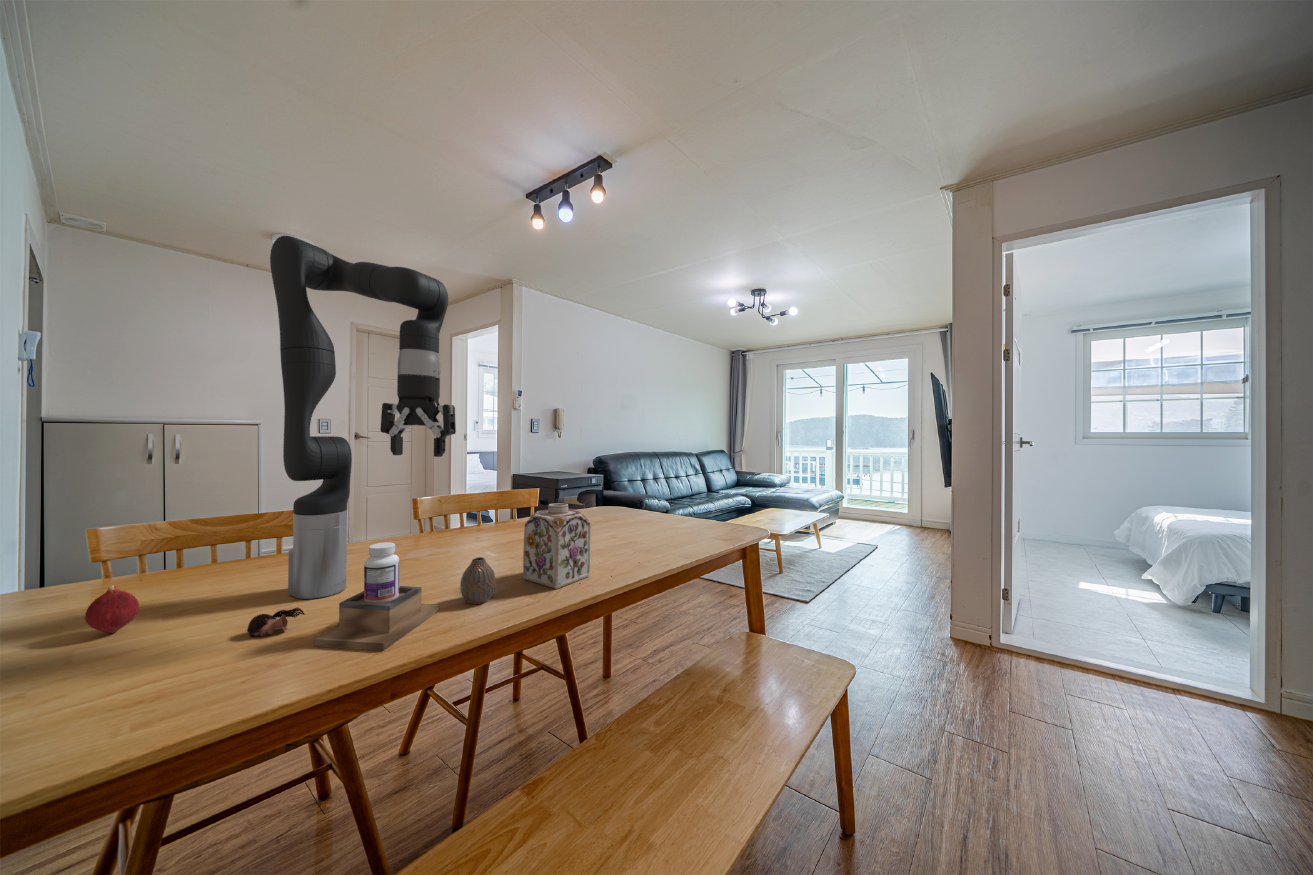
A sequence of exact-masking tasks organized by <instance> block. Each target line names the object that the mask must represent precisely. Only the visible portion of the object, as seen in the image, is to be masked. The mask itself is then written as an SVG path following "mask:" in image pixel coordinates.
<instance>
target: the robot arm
mask: <svg viewBox="0 0 1313 875" xmlns="http://www.w3.org/2000/svg"><path fill="white" fill-rule="evenodd" d="M269 264H270V274H271V278H272V284H273V288H274V296H275V299H276V307H277V313H278V325H279V327H278V328H279V344H280V345H279V350H280V352H279V354H280V366H281V367H280V368H281V377H282V388H283V399H284V400H283V401H284V403H283V404H284V414H283V415H284V416H283V418H284V420H283V421H284V423H283V424H284V425H283V449H282V450H283V455H282V457H283V458H282V460H283V466H284V467H283V468H284V471H285V473H286V475H287V477H288V478H289V479H290V480H291V481H294V482H308V481H321V480H322V482H321V484H320V486H318V487H317V488H315V490H313V491H311V492H309V493H307V494H305V495H303V496H300V497H298V498H297V499H295V500H294V502H293V508H292V509H293V510H292V512H293V514H292V517H293V519H292V521H293V522H292V523H293V525H292V529H293V530H292V532H293V533H292V534H293V536H292V538H293V539H292V541H293V542H292V547H291V548H290V549H289V550H288V552H287V553H288V554H287V555H288V556H287V558H288V563H287V570H288V572H287V574H288V575H287V578H288V580H287V595H288V596H293V598H295V599H304V600H306V599H307V600H309V599H318V598H323V597H329V596H332V595H336V594H338V593H341V592H342V591H344V590H345V589H346V588H347V569H348V567H347V564H348V562H347V558H348V556H347V555H348V554H347V553H348V550H347V549H348V548H347V547H348V502H349V498H350V493H351V491H350V490H351V478H352V477H351V476H352V464H353V463H352V461H353V460H352V459H353V457H352V456H353V454H352V449H351V445H350V444H349V441H348V440H347V439H346V438H344V437H342V436H336V435H335V436H334V435H333V436H332V435H331V436H327V435H324V436H323V435H321V436H315V435H314V436H312V435H311V430H310V429H311V424H312V423H311V422H312V418H313V414H314V412H315V409H316V408H317V406H318V405H319V403H320V401H321V400H322V399H323V398H324V396H325V395H326V394H327V392H328V391H329V390H330V388H331V386H332V385H333V383H334V382H335V379H336V375H337V367H336V353H335V347H334V342H333V341H332V339H331V337H330V336H329V333H328V332H327V331H326V329H325V327H324V326H323V323H321V321H320V319H319V318H318V317H317V315H316V313H315V312H314V310H313V307H312V306H311V302H310V300H309V296H308V291H307V289H309V290H315V291H325V292H349V293H354V294H356V295H360V296H363V297H366V298H370V299H373V300H376V301H377V300H378V301H383V302H387V303H397V304H399V305H402V306H406V307H409V308H412V309H414V310H417V315H416V318H415V319H407V320H404V321H402V322H401V324H400V327H399V341H398V342H399V344H398V346H399V348H398V349H399V351H398V358H397V387H396V388H397V389H396V396H397V397H398V402H397V404H396V403H392V402H391V403H389V402H383V403H382V405H381V417H380V419H381V420H380V429H379V430H380V432H381V433H383V434H386V435H389V436H390V444H389V445H390V452H391V453H392V455H393V456H402V455H403V453H404V437H403V434H404V433H405V432H406V430H407V429H409V428H410V427H411V426H421V427H422V426H426V428H428V429H429V430H430V431H431V433H432V434H433V435H434V437H435V438H433V457H435V458H440V457H443V456H444V454H445V453H446V440H447V437H449V436H453V435H456V432H457V429H456V424H457V423H456V407H455V405H454V404H449V403H448V404H447V403H446V404H445V403H444V404H443V405H440V401H439V399H440V397H441V362H440V333H441V330H442V327H443V324H444V320H445V317H446V314H447V310H448V308H449V307H448V306H449V294H448V291H447V288H446V286H445V285H444V283H442V282H441V280H439V279H437V278H435V277H431V276H429V275H427V274H425V273H422V272H420V271H418V270H416V269H412V268H409V267H404V266H388V265H384V264H380V263H375V262H369V261H357V262H355V263H354V262H353V263H352V262H349V261H347V260H345V259H342V258H340V257H339V256H336V255H334V254H332V253H330V252H329V251H327V250H326V249H323V247H319V246H317V245H314V244H312V243H310V242H307V241H305V240H302V239H300V238H298V237H295V236H291V235H280V236H278V238H276V239H275V241H274V242H273V243H272V246H271V249H270V255H269ZM397 413H398V414H399V416H398V417H397V419H396V414H397ZM439 414H441V416H442V421H440V420H439V418H438V415H439Z"/></svg>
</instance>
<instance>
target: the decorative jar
mask: <svg viewBox="0 0 1313 875" xmlns="http://www.w3.org/2000/svg"><path fill="white" fill-rule="evenodd" d="M547 508H548V509H542V510H538V511H535V512H534V514H532V515H531V516H530V517H529V518H528V520H527V521H526V522H525V523H524V524H523V525H524V531H523V552H522V554H523V557H522V558H523V560H522V573H523V574H522V578H523V579H524V580H526V581H529V582H533V583H537V584H539V585H542V586H546V587H548V588H551V589H555V590H558V589H560V588H563V587H566V586H568V585H570V584H573V583H577V582H579V581H582V580H584V579H586V578H588V577H589V576H590V574H591V540H592V539H591V538H592V537H591V536H592V535H591V534H592V531H591V528H592V527H591V525H592V523H591V522H590V521H589V519H588V518H587V516H586V515H584V513H583V512H582V511H580V510H575V509H569V504H568V503H564V502H559V503H558V502H556V503H550V504H548V506H547Z"/></svg>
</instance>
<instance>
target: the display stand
mask: <svg viewBox="0 0 1313 875" xmlns="http://www.w3.org/2000/svg"><path fill="white" fill-rule="evenodd" d="M338 605H339V606H338V618H339V619H338V625H336V626H334V627H332V628H331V629H328V630H326V631H325V632H323V633H322V634H320V635H318V636H316V637H315V638H313V647H324V648H335V649H336V648H339V649H349V650H351V649H352V650H366V651H367V650H369V651H380V652H382V651H386V650H387V649H389V647H391V646H392V645H393V644H395V643H396V642H398V641H399V640H400V639H403V637H405V636H406V635H408V634H409V633H410V632H411V631H413V630H414V629H416V628H417V627H419V626H420V625H421V624H423V623H424V622H425V621H427V620H429V619H430V618H431V617H433V616H434V615H435V614H437V613H438V612H439V611H440V604H434V603H422V586H408V585H407V586H406V585H399V596H398V597H397V598H396V599H394V600H392V601H390V602H386V603H374V602H365V601H364V590H363V591H360V592H359V593H356V594H355V595H353V596H351V597H348V598H346V599H345V600H342V601H341V602H339V603H338Z"/></svg>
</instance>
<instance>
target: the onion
mask: <svg viewBox="0 0 1313 875" xmlns="http://www.w3.org/2000/svg"><path fill="white" fill-rule="evenodd" d="M139 610H140V603H139V600H138V599H137V597H136V596H134V595H133V594H132V593H130V592H128V591H125V590H121V589H119V588H118V585H110V586H108V588H107V591H106V592H105V593H102V595H100V596H98V597H97V598H95V599H94V600H93V601H92V602H91V603H90V604H89V605H88V607H87V610H86V611H85V616H84V620H85V622H86V624H87V625H88V626H89V627H90V628H92V629H94V630H95V631H98V632H101V633H102V632H103V633H106V634H109V633H111V634H114V633H116V632H119V631H120V629H122V628H124V627H126V626H127V625H128V624H129V623H130V622H132V621H133V620H134V619H135V617H136V616H137V615H138V612H139Z"/></svg>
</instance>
